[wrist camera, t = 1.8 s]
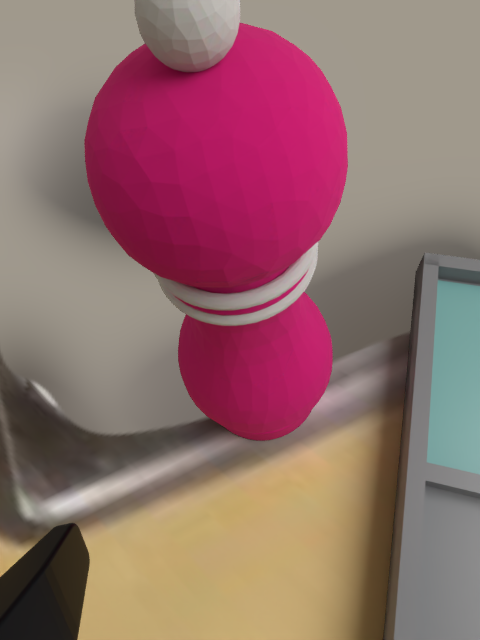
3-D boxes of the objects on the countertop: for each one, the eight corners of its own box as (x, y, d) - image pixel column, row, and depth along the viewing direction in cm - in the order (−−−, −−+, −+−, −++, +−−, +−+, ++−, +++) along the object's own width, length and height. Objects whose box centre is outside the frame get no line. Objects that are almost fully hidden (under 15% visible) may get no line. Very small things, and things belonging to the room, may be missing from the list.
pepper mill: (220, 471, 22) (-61, 183, 4) (183, 352, 25) (-59, -75, 8) (348, 421, 22) (550, -18, 5) (295, 311, 26) (301, -178, 8)
